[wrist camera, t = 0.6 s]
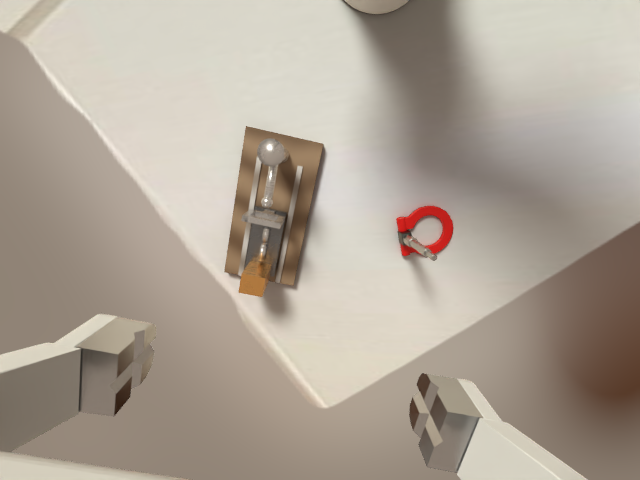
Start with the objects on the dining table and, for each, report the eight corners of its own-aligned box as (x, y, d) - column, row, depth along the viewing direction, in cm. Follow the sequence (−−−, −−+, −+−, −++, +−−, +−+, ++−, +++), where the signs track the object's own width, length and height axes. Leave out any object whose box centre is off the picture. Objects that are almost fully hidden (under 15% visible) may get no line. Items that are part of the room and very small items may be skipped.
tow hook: (447, 200, 50) (393, 212, 50) (495, 212, 38) (424, 228, 38) (452, 247, 52) (401, 258, 52) (499, 273, 40) (432, 288, 40)
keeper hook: (273, 142, 46) (259, 135, 35) (293, 146, 46) (286, 141, 35) (263, 199, 48) (247, 210, 37) (282, 203, 48) (273, 215, 37)
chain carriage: (255, 205, 48) (242, 214, 39) (287, 212, 48) (281, 222, 40) (244, 274, 50) (229, 296, 42) (274, 280, 51) (265, 303, 42)
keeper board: (248, 127, 46) (245, 125, 45) (323, 144, 47) (323, 143, 45) (227, 268, 52) (223, 272, 50) (294, 282, 53) (293, 286, 51)
